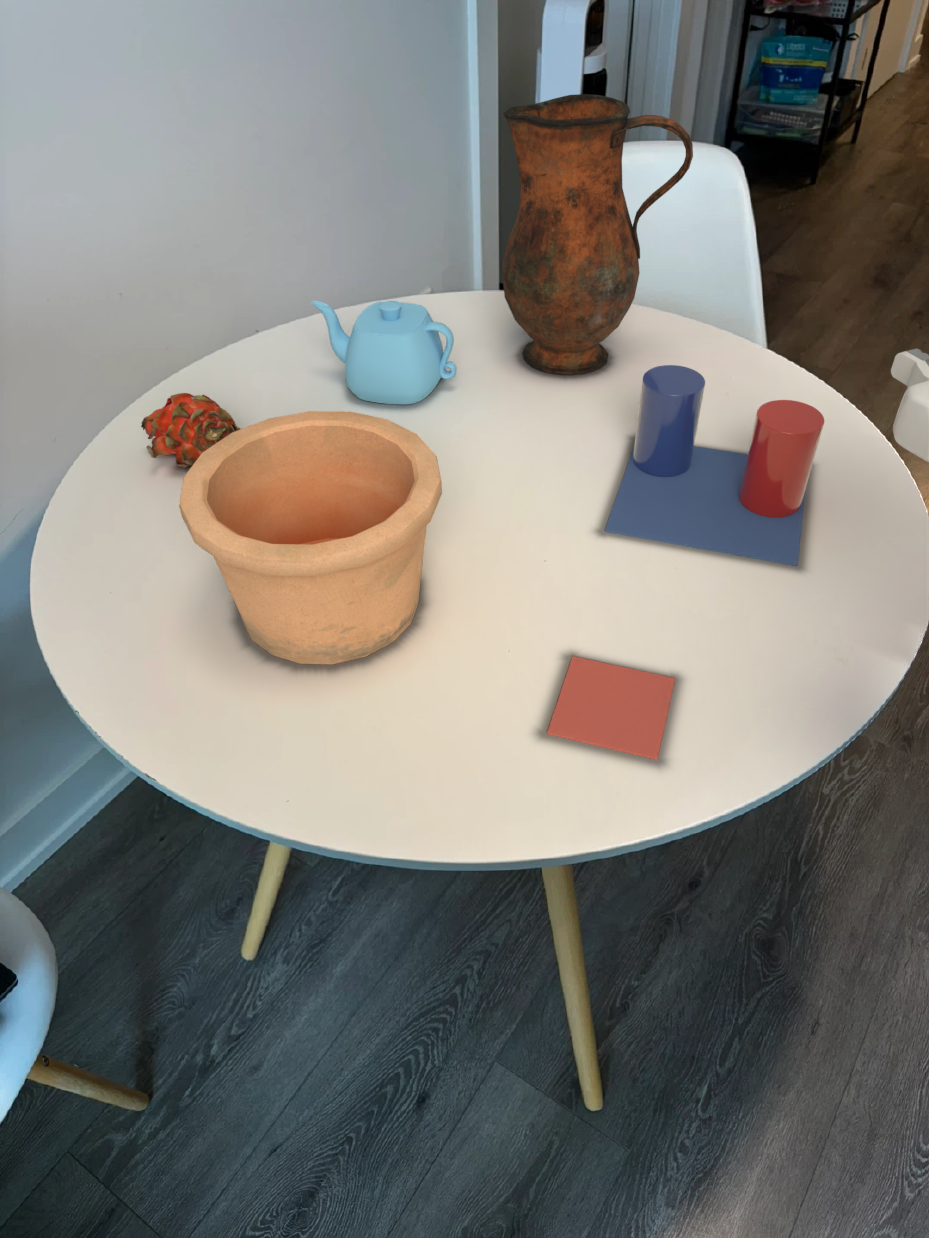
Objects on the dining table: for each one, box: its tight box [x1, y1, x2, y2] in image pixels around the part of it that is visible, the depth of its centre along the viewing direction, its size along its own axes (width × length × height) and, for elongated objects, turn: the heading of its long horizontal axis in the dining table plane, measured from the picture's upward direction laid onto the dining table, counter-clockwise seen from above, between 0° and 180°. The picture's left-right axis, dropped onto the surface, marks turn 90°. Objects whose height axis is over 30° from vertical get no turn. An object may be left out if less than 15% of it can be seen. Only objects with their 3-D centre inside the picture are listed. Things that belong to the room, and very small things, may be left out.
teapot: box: [310, 300, 458, 405], centre depth 114 cm, size 13×11×18 cm
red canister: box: [739, 399, 825, 518], centre depth 94 cm, size 6×6×10 cm
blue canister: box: [633, 364, 706, 477], centre depth 99 cm, size 6×6×10 cm
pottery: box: [178, 410, 443, 665], centre depth 83 cm, size 22×22×14 cm
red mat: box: [546, 655, 676, 761], centre depth 77 cm, size 9×9×1 cm
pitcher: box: [501, 93, 694, 376], centre depth 111 cm, size 17×21×30 cm
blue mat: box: [604, 445, 806, 567], centre depth 98 cm, size 19×18×1 cm
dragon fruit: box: [140, 392, 241, 469], centre depth 104 cm, size 8×8×12 cm
